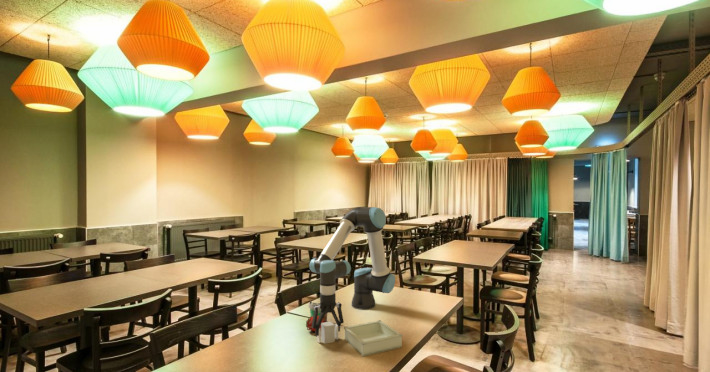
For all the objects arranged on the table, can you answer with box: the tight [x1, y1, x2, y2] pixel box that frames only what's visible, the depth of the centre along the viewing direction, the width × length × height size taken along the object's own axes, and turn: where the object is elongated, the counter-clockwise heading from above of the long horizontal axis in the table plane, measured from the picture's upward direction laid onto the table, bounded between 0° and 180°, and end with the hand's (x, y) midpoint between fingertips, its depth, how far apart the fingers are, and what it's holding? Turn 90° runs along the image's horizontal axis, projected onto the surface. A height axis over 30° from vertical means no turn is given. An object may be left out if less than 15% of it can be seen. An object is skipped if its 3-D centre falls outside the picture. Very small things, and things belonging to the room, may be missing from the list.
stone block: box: [321, 320, 336, 344], centre depth 166 cm, size 5×5×8 cm
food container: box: [308, 300, 328, 322], centre depth 190 cm, size 12×6×10 cm, turn 62°
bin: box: [343, 320, 404, 357], centre depth 163 cm, size 21×21×6 cm
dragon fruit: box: [305, 315, 326, 333], centre depth 178 cm, size 8×8×12 cm
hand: (327, 340), depth 166 cm, fingers open, 8 cm apart
